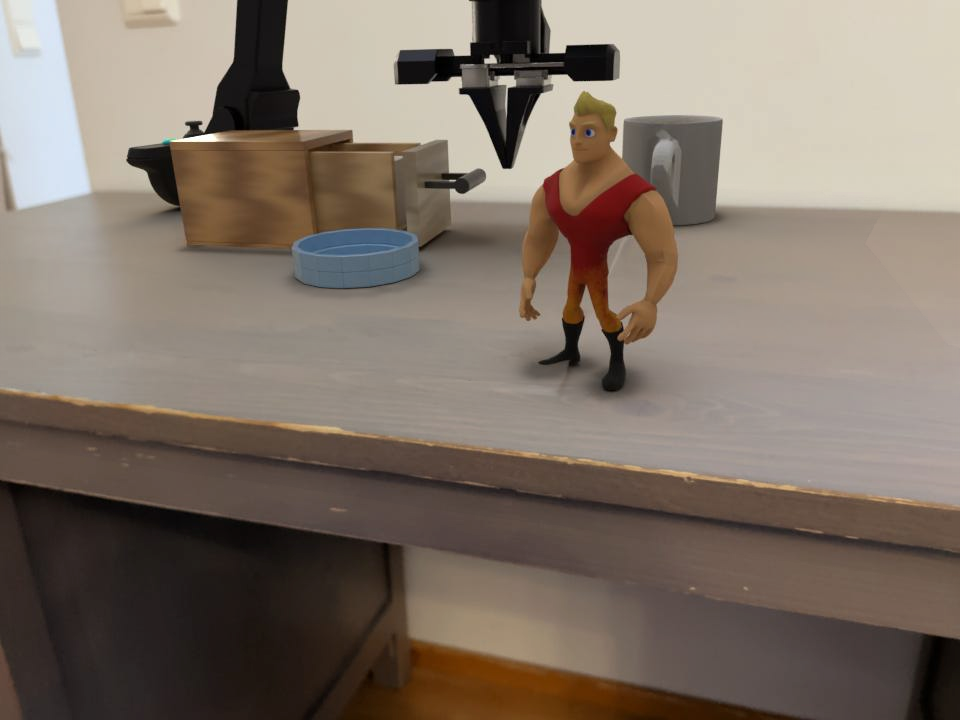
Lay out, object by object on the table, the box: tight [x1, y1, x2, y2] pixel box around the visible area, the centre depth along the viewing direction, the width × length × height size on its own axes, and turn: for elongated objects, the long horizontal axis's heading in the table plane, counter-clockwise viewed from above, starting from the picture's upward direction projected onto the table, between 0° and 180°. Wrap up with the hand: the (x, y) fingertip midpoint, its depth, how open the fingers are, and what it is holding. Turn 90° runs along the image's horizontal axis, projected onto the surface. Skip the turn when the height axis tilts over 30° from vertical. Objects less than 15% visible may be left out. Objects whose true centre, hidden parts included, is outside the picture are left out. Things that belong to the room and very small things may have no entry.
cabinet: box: [169, 129, 354, 250], centre depth 76 cm, size 14×11×10 cm
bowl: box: [291, 228, 421, 289], centre depth 63 cm, size 10×10×3 cm
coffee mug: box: [621, 114, 724, 226], centre depth 81 cm, size 13×10×10 cm
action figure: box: [518, 90, 679, 391], centre depth 41 cm, size 10×4×15 cm, turn 49°
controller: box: [125, 120, 205, 207], centre depth 95 cm, size 4×12×10 cm, turn 151°
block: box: [394, 156, 407, 226], centre depth 74 cm, size 4×4×6 cm
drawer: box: [308, 139, 487, 248], centre depth 73 cm, size 17×9×8 cm, turn 75°
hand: (508, 168), depth 70 cm, fingers closed
